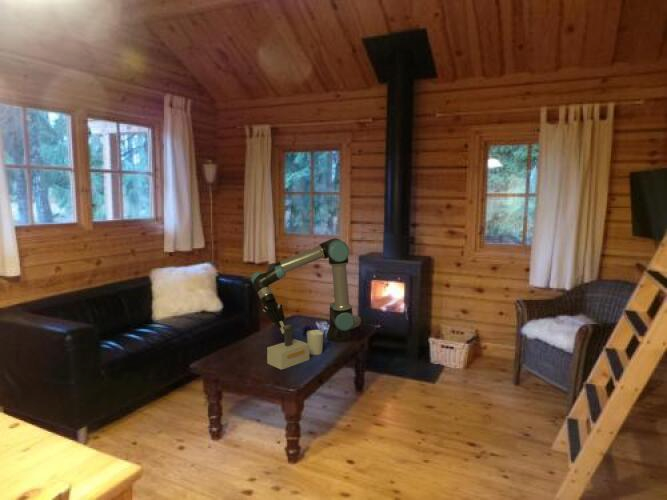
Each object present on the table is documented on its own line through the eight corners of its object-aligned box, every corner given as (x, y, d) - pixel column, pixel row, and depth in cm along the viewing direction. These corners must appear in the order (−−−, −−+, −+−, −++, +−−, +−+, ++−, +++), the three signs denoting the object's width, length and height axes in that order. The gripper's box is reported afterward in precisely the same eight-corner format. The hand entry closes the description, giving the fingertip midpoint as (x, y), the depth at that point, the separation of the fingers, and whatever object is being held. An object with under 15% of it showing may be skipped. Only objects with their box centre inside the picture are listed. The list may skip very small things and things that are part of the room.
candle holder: (317, 356, 261) (317, 336, 260) (303, 353, 266) (303, 333, 265) (326, 351, 270) (326, 331, 268) (312, 348, 275) (312, 328, 273)
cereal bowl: (364, 326, 317) (365, 316, 316) (353, 333, 303) (353, 322, 302) (343, 322, 326) (343, 313, 325) (331, 328, 312) (331, 318, 311)
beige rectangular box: (295, 354, 265) (295, 338, 264) (309, 359, 257) (309, 344, 255) (267, 363, 251) (267, 347, 250) (281, 369, 242) (281, 353, 241)
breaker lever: (290, 343, 255) (290, 323, 254) (293, 344, 253) (292, 324, 252) (283, 345, 252) (283, 325, 250) (286, 346, 250) (285, 326, 249)
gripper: (273, 298, 269) (290, 333, 259) (254, 302, 259) (272, 338, 250) (278, 291, 264) (297, 326, 255) (260, 294, 255) (278, 331, 246)
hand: (284, 332), depth 253 cm, fingers closed
